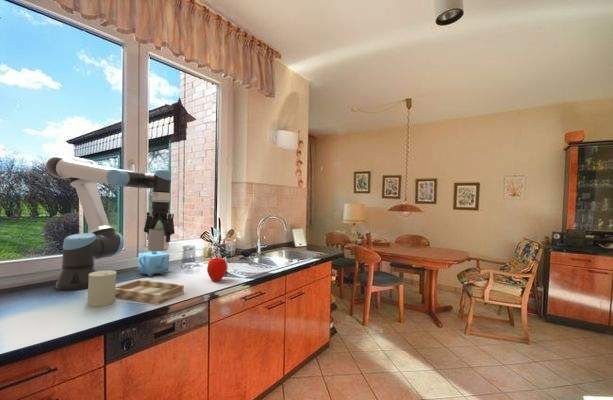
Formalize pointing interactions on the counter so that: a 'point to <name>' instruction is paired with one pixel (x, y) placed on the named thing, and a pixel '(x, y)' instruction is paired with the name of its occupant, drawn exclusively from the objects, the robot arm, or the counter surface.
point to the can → (101, 288)
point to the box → (148, 291)
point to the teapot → (153, 263)
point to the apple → (216, 268)
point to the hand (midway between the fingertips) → (158, 247)
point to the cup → (156, 239)
